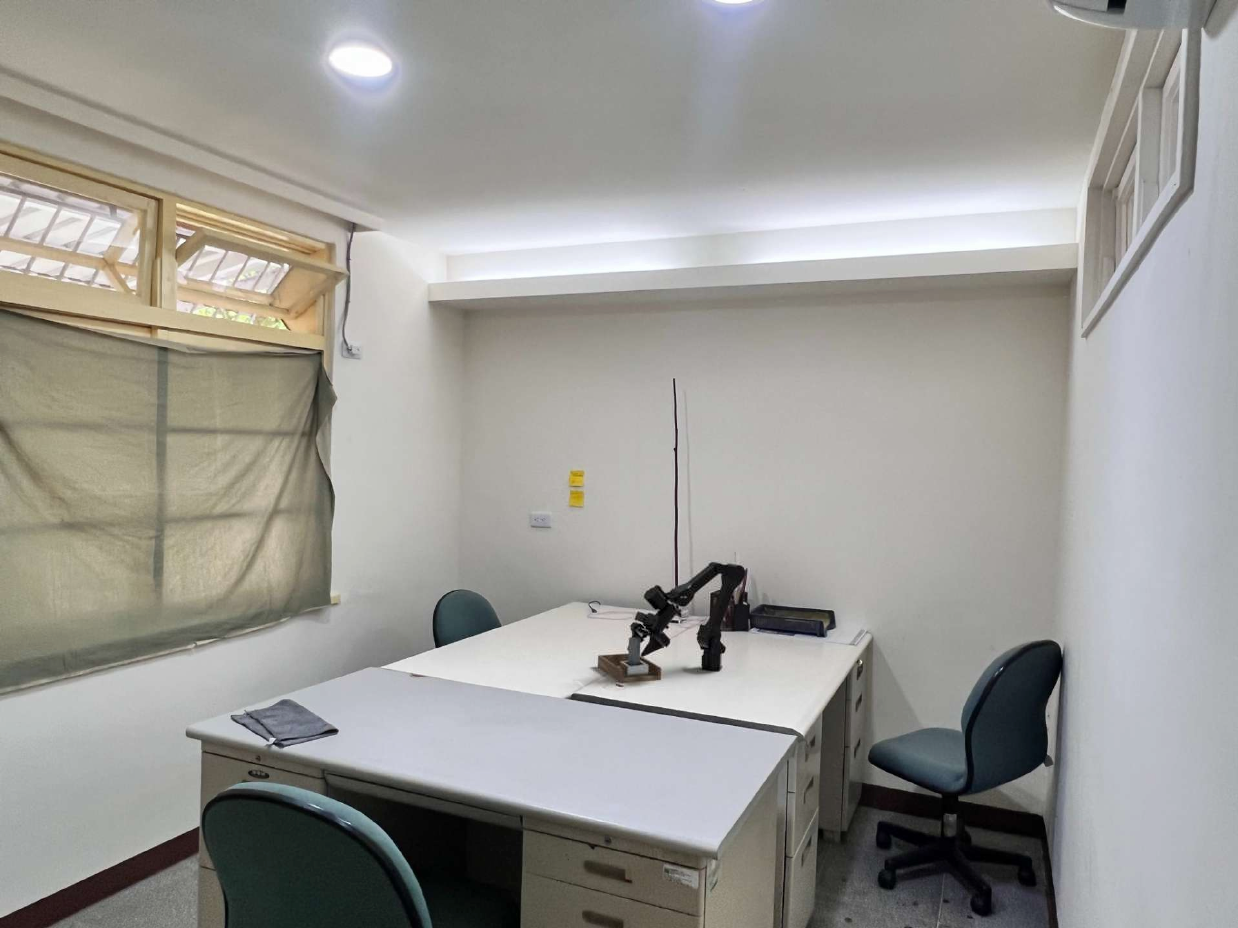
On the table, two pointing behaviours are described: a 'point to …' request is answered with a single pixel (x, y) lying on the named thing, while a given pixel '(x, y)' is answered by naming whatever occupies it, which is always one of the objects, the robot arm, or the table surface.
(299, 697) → the table surface
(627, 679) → the box
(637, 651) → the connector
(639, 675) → the frame
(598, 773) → the table surface
